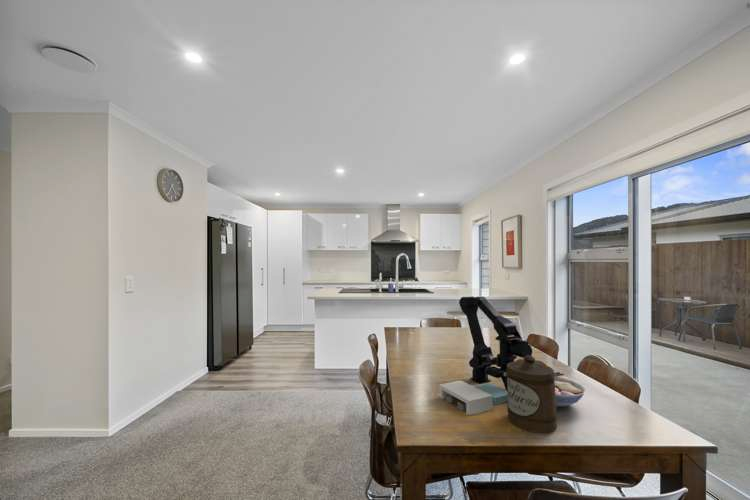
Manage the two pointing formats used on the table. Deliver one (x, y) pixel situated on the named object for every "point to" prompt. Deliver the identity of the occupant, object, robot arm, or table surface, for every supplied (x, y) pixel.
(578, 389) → the ramen bowl
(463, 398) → the white box
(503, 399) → the light blue slab
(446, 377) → the table surface
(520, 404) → the wooden container
